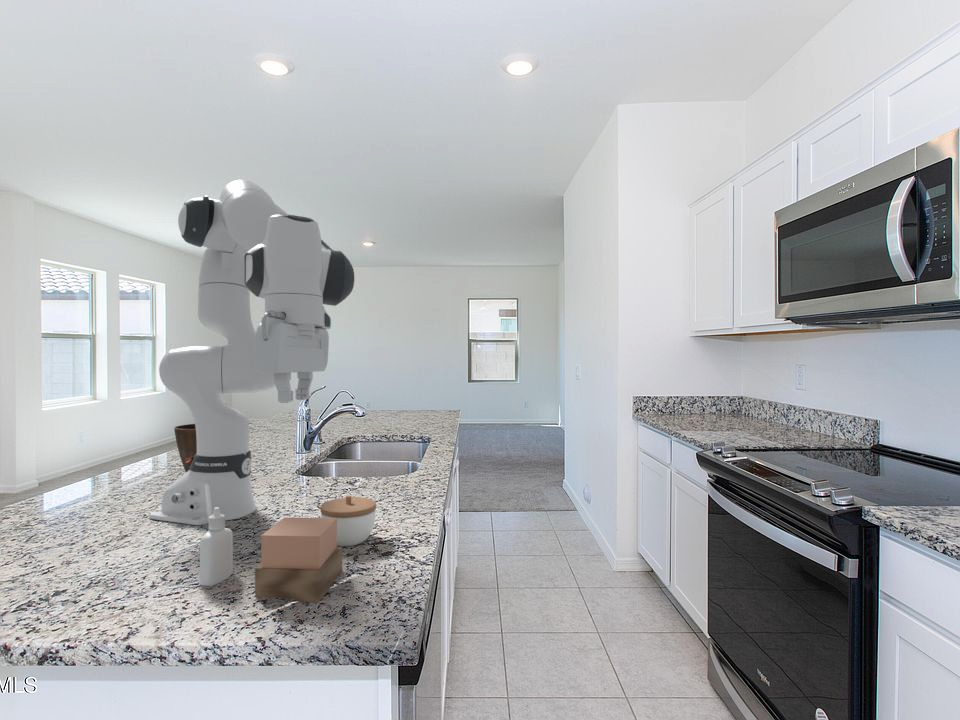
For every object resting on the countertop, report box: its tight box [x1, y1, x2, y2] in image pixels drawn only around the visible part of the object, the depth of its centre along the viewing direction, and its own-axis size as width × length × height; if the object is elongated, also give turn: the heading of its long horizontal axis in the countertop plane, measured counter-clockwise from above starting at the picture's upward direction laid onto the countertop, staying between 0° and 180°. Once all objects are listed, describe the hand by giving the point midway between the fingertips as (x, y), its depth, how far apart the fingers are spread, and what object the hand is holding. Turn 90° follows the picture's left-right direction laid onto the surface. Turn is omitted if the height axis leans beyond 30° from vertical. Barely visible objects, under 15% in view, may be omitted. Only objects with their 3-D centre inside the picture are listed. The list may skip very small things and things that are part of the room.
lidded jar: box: [320, 495, 377, 547], centre depth 105 cm, size 11×11×9 cm
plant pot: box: [173, 423, 197, 473], centre depth 158 cm, size 15×15×16 cm
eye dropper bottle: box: [199, 507, 234, 587], centre depth 88 cm, size 4×6×12 cm
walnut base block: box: [254, 547, 343, 603], centre depth 86 cm, size 10×10×5 cm
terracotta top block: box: [260, 516, 338, 569], centre depth 86 cm, size 9×9×5 cm
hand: (294, 401), depth 85 cm, fingers open, 5 cm apart
